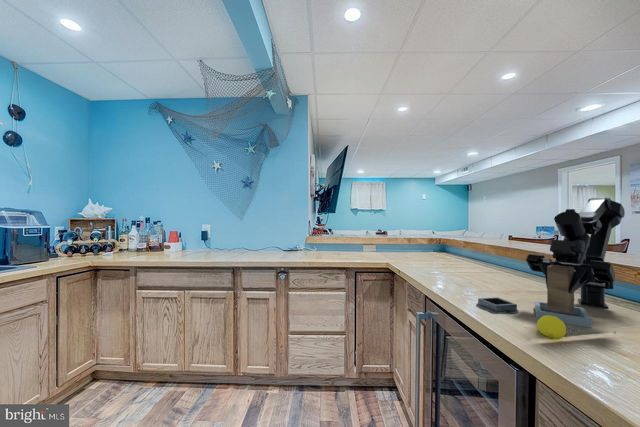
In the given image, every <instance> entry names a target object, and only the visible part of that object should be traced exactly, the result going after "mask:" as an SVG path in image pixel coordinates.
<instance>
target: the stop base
mask: <svg viewBox="0 0 640 427" xmlns="http://www.w3.org/2000/svg"><path fill="white" fill-rule="evenodd" d="M476 307H477V308H478V309H480V310H481V311H486V312H488V313H493V314H499V315H516V314H519V313H520V312H519V311H520V310H519V309H518V305H517V303H514V302H511V301H509V300H507V299H503V298H501V297H498V296H497V297H481V298H477V303H476Z"/></svg>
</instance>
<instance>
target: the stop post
mask: <svg viewBox="0 0 640 427" xmlns="http://www.w3.org/2000/svg"><path fill="white" fill-rule="evenodd" d="M573 277H574V267H568V266H560V265H551V266H547V286H546V289H547V290H546V291H547V293H546V294H547V295H546V296H547V298H546V299H547V300H546V301H547V302H546V303H547V308H548V309H552V310H556V311H560V312H559V313H561V312H564V313H563V314H567V313H569V312H572V311H574V307H575V291H574V292H573V293H569V286H570V284H571V282H572V280H573Z"/></svg>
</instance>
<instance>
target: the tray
mask: <svg viewBox="0 0 640 427" xmlns="http://www.w3.org/2000/svg"><path fill="white" fill-rule="evenodd" d="M534 309H535V317H536V319H538V320H539V319H540V318H541V317H542V316H545V315H551V316H556V317H557V318H559V319H560V320H562V321H563V322H564V324H568V325H573V326H580V327H586V328H590V329H591V328H592V326H593V325H592V318H591V317H590V315H589V313H588V312H587V310H586V309H585V308H584V307H580V306H574V311H572V312H569V313H564V312H560V311H556V310H552V309H548V308H547V302H544V301H539V300H534Z"/></svg>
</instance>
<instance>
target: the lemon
mask: <svg viewBox="0 0 640 427" xmlns="http://www.w3.org/2000/svg"><path fill="white" fill-rule="evenodd" d="M536 327H537V330H538V331H539V332H540V333H541V335H544V336H546V337H547V338H548V339H549V340H561V339H563V338H564V337H565V335H566V333H567V327H566V323H564V322H563V321H562V320H560V319H559V318H557V317H556V316H551V315H545V316H542V317H541V318H540V319H538V320H537V323H536Z"/></svg>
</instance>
